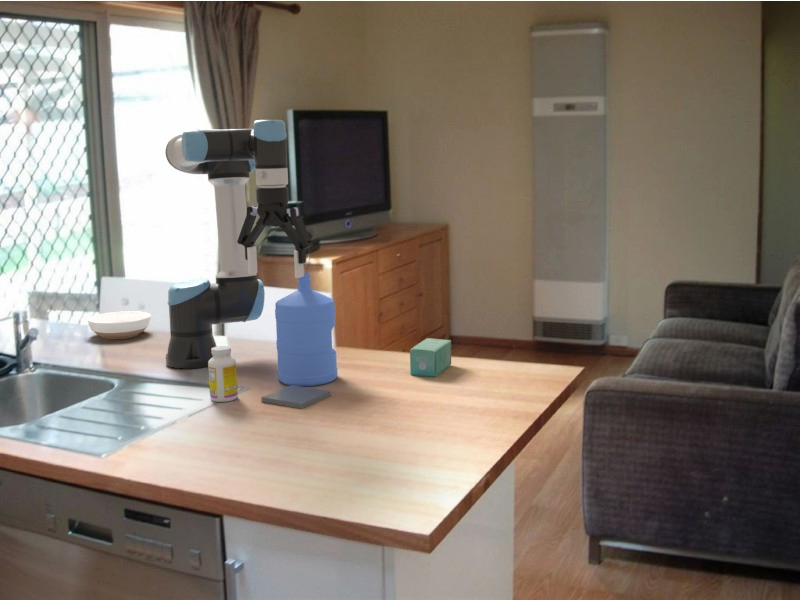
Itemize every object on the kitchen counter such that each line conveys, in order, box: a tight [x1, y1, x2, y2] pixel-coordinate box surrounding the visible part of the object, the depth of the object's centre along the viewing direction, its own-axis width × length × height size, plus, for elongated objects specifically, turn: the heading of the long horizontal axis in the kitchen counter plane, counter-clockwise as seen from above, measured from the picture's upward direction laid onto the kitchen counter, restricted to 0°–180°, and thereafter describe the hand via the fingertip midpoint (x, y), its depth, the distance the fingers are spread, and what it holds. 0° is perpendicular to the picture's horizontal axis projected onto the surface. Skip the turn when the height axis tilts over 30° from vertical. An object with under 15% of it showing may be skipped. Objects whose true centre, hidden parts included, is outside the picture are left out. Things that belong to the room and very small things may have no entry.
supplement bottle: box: [207, 345, 239, 403], centre depth 221 cm, size 7×7×13 cm
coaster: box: [261, 385, 332, 409], centre depth 221 cm, size 12×12×1 cm
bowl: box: [88, 310, 151, 340], centre depth 295 cm, size 20×20×6 cm
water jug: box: [274, 272, 338, 387], centre depth 236 cm, size 16×16×28 cm
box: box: [409, 337, 452, 378], centre depth 244 cm, size 7×14×8 cm, turn 158°
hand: (275, 275), depth 217 cm, fingers open, 13 cm apart
